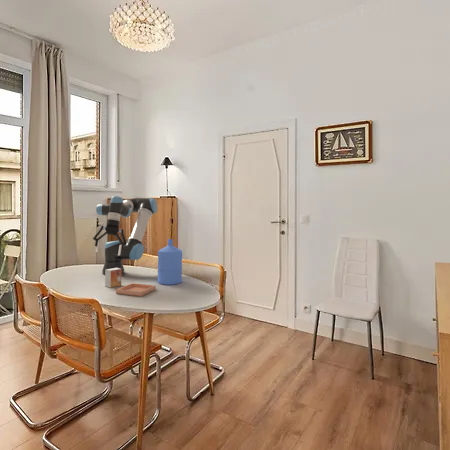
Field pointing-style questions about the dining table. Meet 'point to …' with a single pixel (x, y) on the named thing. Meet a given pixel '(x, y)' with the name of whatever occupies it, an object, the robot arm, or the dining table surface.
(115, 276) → the small box
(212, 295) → the dining table surface
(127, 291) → the holder
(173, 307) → the dining table surface
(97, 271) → the dining table surface
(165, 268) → the water jug
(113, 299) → the dining table surface
